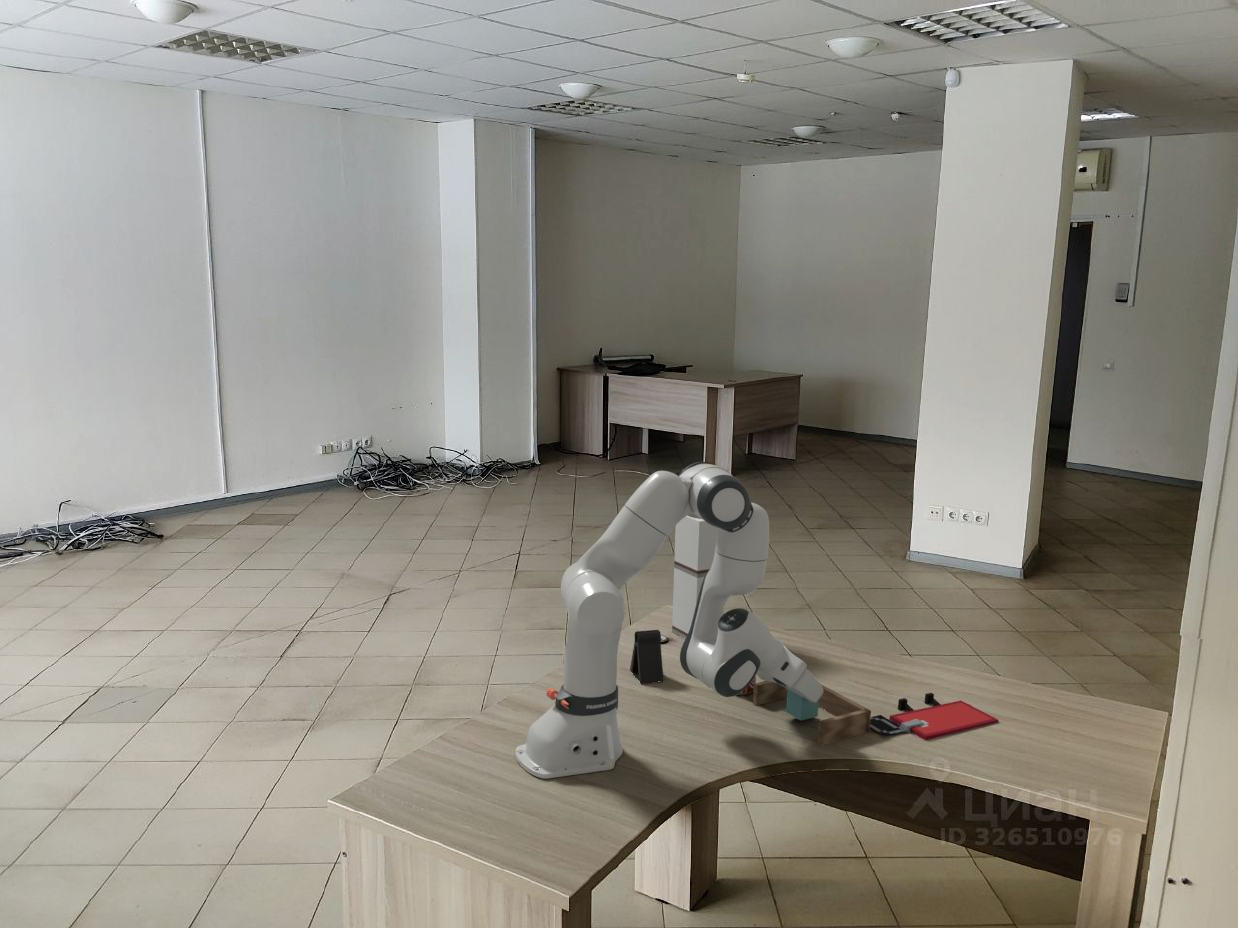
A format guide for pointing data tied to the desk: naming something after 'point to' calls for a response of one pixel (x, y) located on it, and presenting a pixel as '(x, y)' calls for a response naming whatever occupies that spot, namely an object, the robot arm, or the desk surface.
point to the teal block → (800, 706)
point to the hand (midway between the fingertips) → (801, 694)
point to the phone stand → (647, 657)
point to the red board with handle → (932, 719)
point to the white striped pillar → (690, 568)
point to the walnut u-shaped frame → (847, 712)
